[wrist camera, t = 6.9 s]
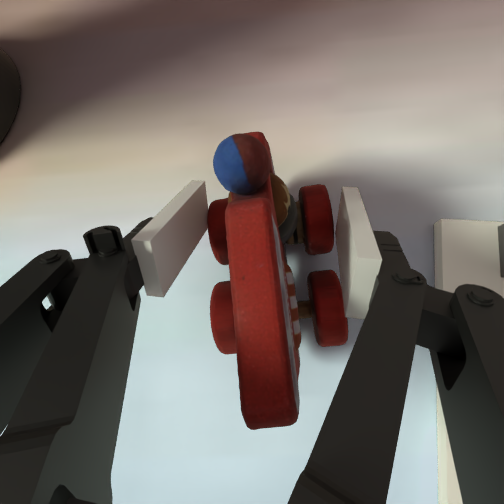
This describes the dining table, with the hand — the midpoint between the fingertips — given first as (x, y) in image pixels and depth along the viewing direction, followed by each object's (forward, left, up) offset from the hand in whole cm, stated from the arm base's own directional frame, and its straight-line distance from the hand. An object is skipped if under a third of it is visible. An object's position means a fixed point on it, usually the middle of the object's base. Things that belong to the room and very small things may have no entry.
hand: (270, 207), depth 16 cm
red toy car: (+3, 0, -4) cm, 5 cm away
